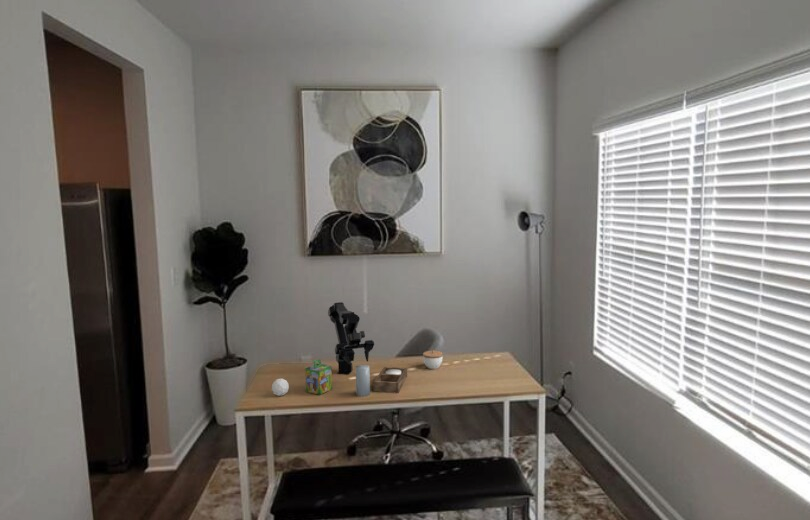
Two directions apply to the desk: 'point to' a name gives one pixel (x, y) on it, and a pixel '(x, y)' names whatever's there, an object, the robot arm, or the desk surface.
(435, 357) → the lidded jar
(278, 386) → the geometric ball
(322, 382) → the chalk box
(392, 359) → the desk surface
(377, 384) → the brown wooden tray
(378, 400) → the desk surface
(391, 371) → the bowl
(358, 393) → the pale blue cylinder
